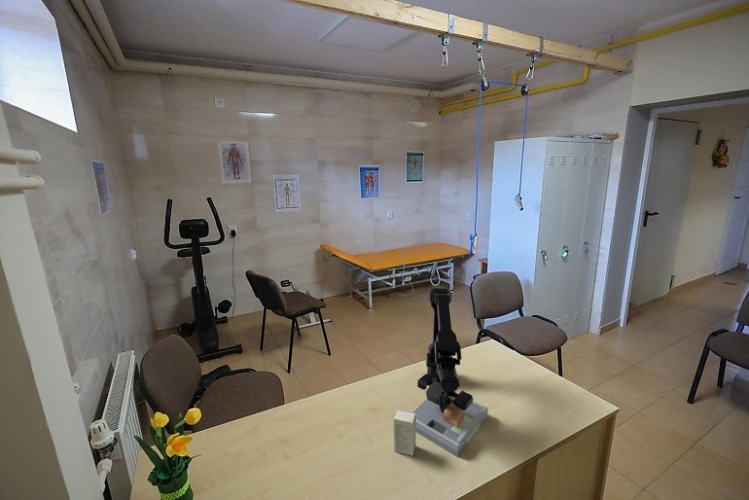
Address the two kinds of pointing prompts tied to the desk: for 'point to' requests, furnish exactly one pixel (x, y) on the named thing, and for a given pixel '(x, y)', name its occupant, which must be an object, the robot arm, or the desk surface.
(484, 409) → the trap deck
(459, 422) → the block
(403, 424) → the skincare box
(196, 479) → the desk surface
